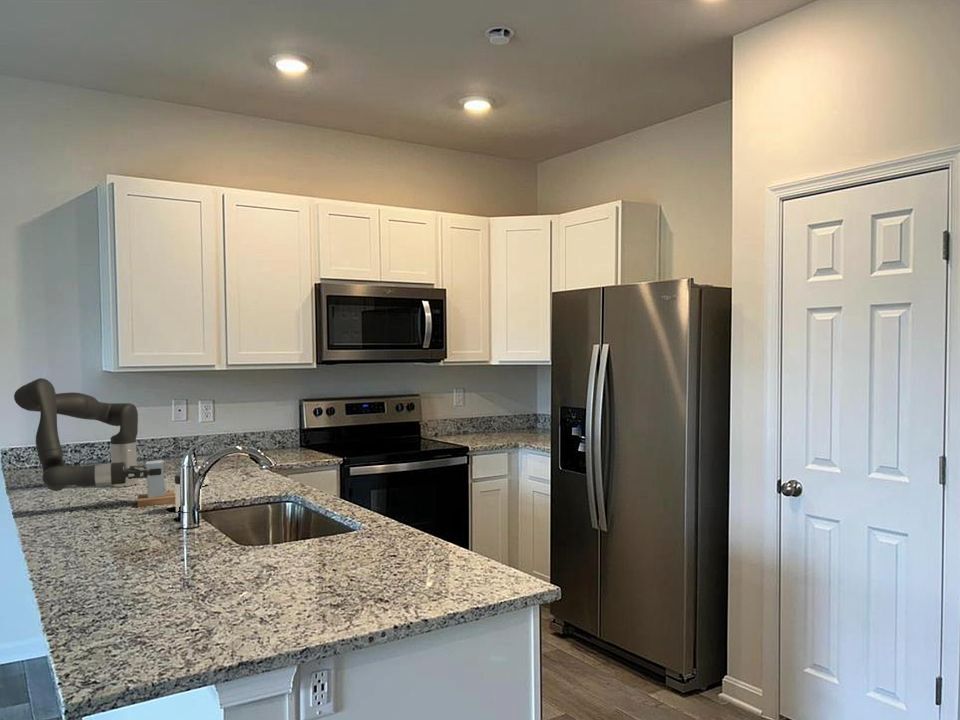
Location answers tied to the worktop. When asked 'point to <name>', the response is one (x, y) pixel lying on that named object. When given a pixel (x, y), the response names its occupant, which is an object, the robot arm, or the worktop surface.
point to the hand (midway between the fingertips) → (161, 469)
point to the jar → (177, 492)
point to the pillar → (155, 480)
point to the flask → (206, 475)
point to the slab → (156, 499)
